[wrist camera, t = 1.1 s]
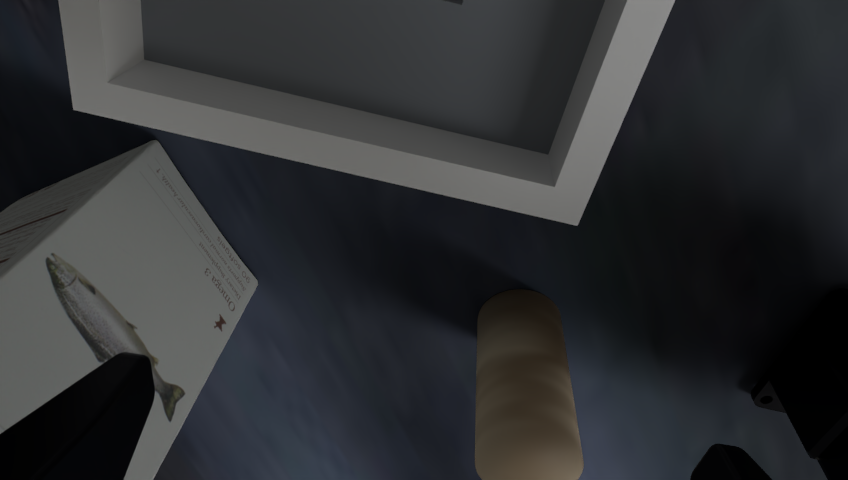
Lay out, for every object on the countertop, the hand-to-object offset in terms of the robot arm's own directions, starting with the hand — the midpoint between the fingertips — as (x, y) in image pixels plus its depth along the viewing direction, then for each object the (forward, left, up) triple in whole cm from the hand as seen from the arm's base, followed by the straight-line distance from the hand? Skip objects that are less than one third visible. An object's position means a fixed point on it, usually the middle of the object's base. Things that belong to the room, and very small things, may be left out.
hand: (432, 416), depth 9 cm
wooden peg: (-5, +9, -13) cm, 16 cm away
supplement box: (+11, +9, -13) cm, 19 cm away
